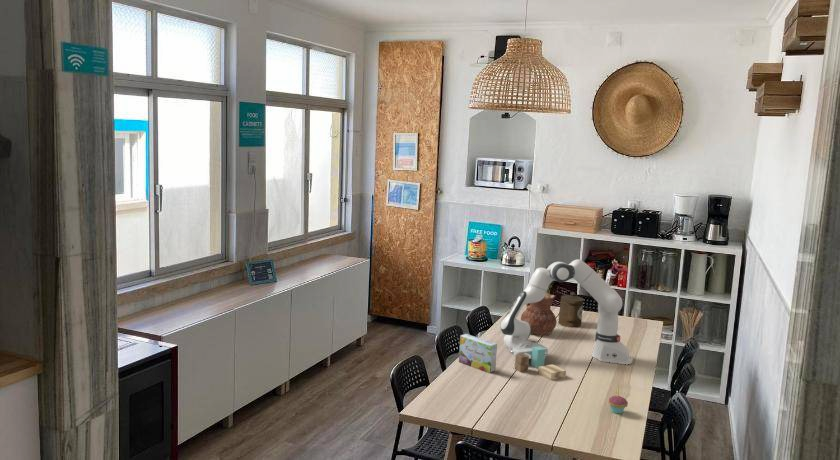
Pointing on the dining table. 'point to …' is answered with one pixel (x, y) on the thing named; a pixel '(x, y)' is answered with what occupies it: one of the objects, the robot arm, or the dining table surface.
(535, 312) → the jug
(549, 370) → the oak base block
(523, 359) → the walnut block
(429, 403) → the dining table surface
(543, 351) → the teal block
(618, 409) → the cupcake
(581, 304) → the wooden container
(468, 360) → the snack box
